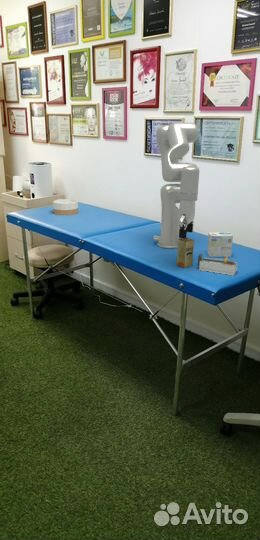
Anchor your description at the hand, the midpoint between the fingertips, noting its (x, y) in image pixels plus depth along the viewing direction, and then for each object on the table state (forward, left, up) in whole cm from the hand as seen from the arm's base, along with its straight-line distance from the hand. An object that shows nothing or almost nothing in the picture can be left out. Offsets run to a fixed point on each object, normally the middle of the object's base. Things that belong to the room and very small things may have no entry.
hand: (185, 234), depth 177 cm
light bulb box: (+11, +21, -14) cm, 28 cm away
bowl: (-108, +70, -14) cm, 130 cm away
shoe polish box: (0, -1, -14) cm, 14 cm away
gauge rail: (+15, -1, -14) cm, 21 cm away
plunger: (+13, -1, -13) cm, 18 cm away
